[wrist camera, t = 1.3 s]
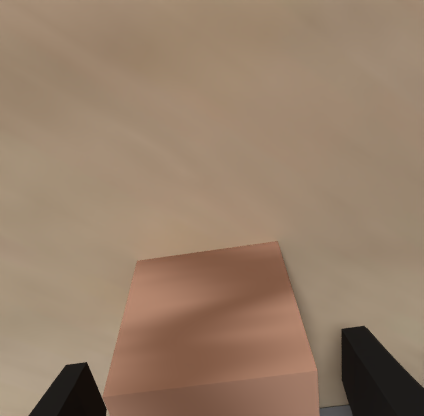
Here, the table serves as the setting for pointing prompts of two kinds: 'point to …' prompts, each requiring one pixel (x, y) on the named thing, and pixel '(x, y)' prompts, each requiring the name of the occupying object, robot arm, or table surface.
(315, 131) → the table surface
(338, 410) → the charcoal plinth
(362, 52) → the table surface
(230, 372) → the terracotta cube
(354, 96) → the table surface
